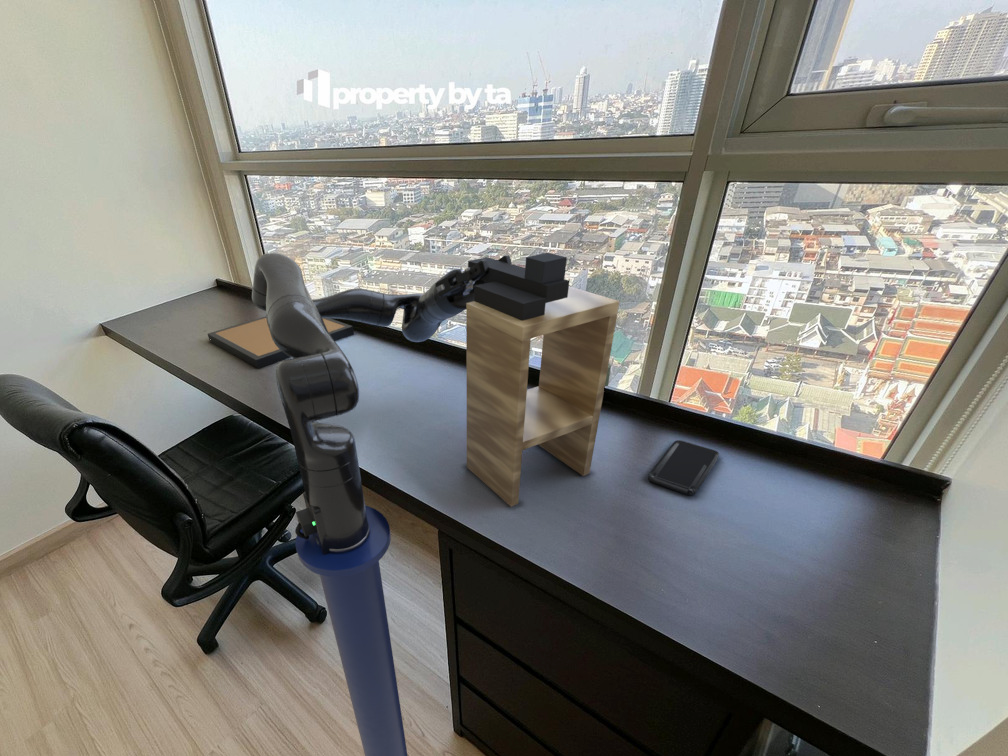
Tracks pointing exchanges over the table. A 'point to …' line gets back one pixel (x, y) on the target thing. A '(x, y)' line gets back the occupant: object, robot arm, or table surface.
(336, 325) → the cork board
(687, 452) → the phone
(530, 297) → the pad
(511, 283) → the pad
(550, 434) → the shelf
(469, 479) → the table surface
